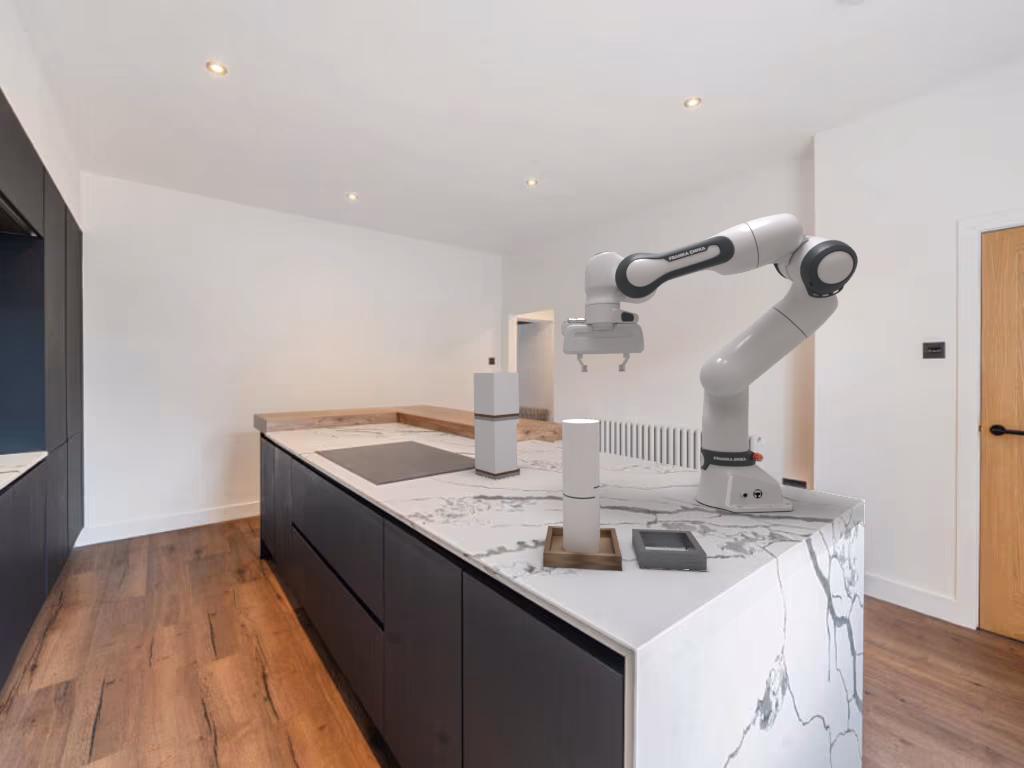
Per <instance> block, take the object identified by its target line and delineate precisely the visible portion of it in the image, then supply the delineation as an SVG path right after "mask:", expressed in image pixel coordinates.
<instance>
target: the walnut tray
mask: <svg viewBox="0 0 1024 768" xmlns="http://www.w3.org/2000/svg"><path fill="white" fill-rule="evenodd" d="M546 530H547V531H546V535H545V541H544V547H543V550H542V551H543V552H542V553H543V555H542V558H543V559H542V560H543V561H542V563H543V564H542V565H543V567H546V566H548V568H549V567H550V568H551V567H552V568H569V569H589V570H591V569H592V570H606V571H607V570H611V571H622V570H623V555H622V552H621V548H620V543H619V539H618V535H617V530H616V528H615V527H613V528H612V527H600V551H599V552H598V553H585V552H566V551H565V550H564V548H563V525H562V526H561V525H547V529H546Z"/></svg>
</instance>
